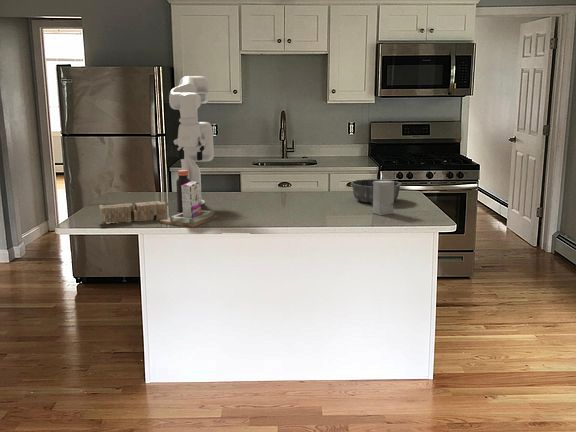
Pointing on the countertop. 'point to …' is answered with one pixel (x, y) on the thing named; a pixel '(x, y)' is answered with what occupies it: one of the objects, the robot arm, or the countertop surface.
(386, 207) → the skincare box
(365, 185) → the bundt pan
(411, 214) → the countertop surface
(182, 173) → the bottle
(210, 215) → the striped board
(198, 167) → the robot arm
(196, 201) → the candy bar box
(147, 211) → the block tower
